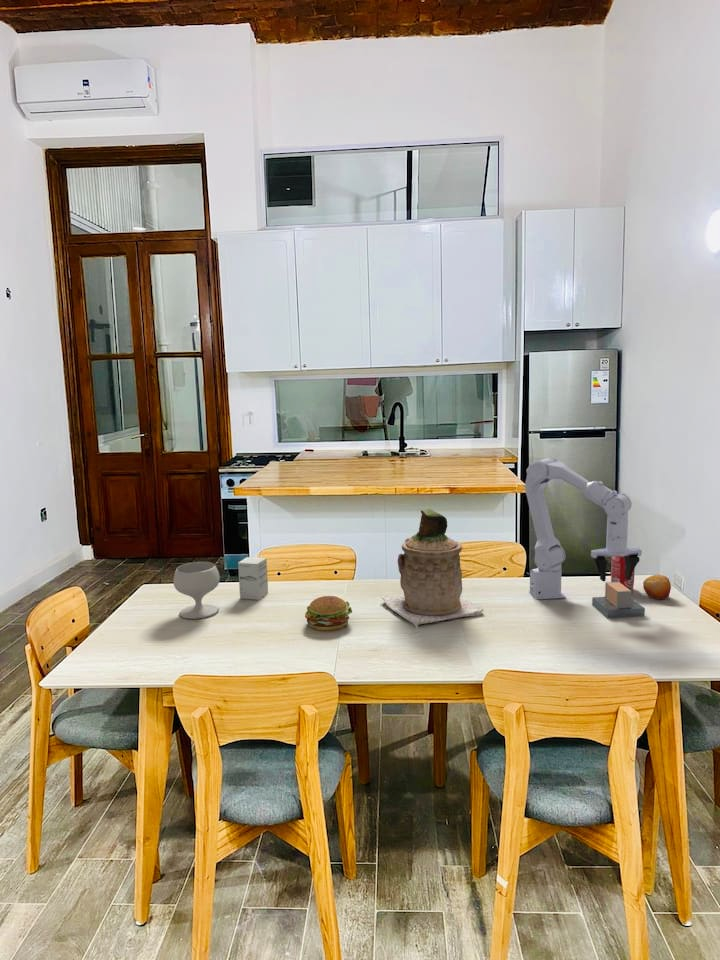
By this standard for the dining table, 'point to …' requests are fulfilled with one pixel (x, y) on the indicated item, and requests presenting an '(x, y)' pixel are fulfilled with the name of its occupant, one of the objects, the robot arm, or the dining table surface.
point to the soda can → (620, 572)
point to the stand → (617, 609)
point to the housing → (618, 594)
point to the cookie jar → (431, 575)
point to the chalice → (197, 587)
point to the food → (328, 613)
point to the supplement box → (253, 578)
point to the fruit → (657, 586)
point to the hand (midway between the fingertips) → (615, 579)
